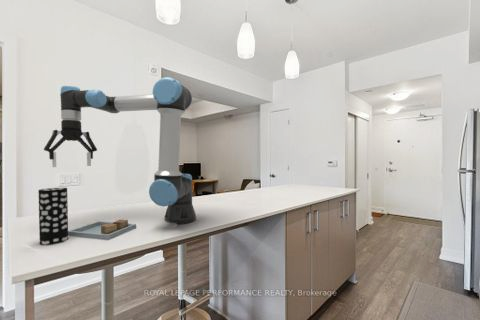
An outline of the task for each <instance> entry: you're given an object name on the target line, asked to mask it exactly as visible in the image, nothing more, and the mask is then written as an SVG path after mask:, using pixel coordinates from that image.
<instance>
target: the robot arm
mask: <svg viewBox="0 0 480 320" xmlns="http://www.w3.org/2000/svg"><path fill="white" fill-rule="evenodd" d="M59 95H60V112H61V113H60V117H61V130H58V129H54V130H52V134H51V136H50V138H49V140H48V141H47V143H46V145H45V146H44V148H43V151H46V152H48V155H49V157H48V158H49V160H51V161H52V168H57V152H55V151H56V150H57V149H58V148H59V147H60V146H61V145H62V144H63V143H64V142H65V141H69V142H70V141H72V142H75V141H76V142H79V144H81V145H82V146H83V147H84V149H86V150H87V152H86V163H87V164H86V166H88V167H90V166H92V160H93V158H94V152H98V149H97V147H96V145H95V143H94V142H93V139H92V138H91V136H90V132H89V131H85V132H83V131H82V122H81V120H82V108H91V109H96V110H100V111H103V112H108V113H110V114H118V113H121V112H136V111H137V112H139V111H157V112H158V113H159V115H160V118H159V141H158V142H159V143H158V145H159V147H158V167H157V168H158V169H157V171H156V172H154V177H153V182H152V183H151V184H150V185H149V190H148V194H149V197H150V200H151V201H152V202H153V203H154V204H155V205H156V206H160V207H167V208H166V211H165V215H164V222H166V223H170V224H171V223H172V224H176V225H183V224H188V223H189V224H190V223H192V222H195V221H196V220H197V215H196V211H195V208H194V205H193V177H192V175H191V174H190V173H182V172H181V171H180V148H181V147H180V146H181V144H180V143H181V127H182V126H181V120H182V116H183V115H184V114H185V113H186V111H187V109H189V107H190V106H191V105H192V100H193V97H192V94H191V92H190V90H189V89H188V88H187V87H186V86H184V85H182V84H181V83H180V82H179V81H178V80H177V79H175V78H172V77H168V76H165V77H162V78H160V79H158V80H157V81H156V82H155V83H154V84H153V87H152V94H135V95H119V96H110V95H109V96H108V95H106V94H105V93H104V92H103V91H102V90H100V89H87V90H81V89H80V88H79V86H78V87H77V86H74V85H62V86H61V87H60V94H59ZM59 135H61V136H62V137H61V138H59V140H58V141H57V142H55V144H54V145H53V143H54V141H55V140H56V138H57V136H59ZM82 136H83V137H84V138H85V139H86V141H87V143H88V144H87V143H86V142H85V141H84V139H83V138H82Z"/></svg>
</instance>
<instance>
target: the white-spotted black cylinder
mask: <svg viewBox="0 0 480 320" xmlns="http://www.w3.org/2000/svg"><path fill="white" fill-rule="evenodd" d="M37 193H38V227H39V228H38V229H39V232H38V233H39V245H40V246H51V245H52V246H53V245H56V244H57V245H58V244H60V243H64V242H66V241H68V240H69V236H68V231H69V218H68V217H69V216H68V213H69V211H68V207H69V205H68V187H51V188H49V187H48V188H42V189H38V192H37Z"/></svg>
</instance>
